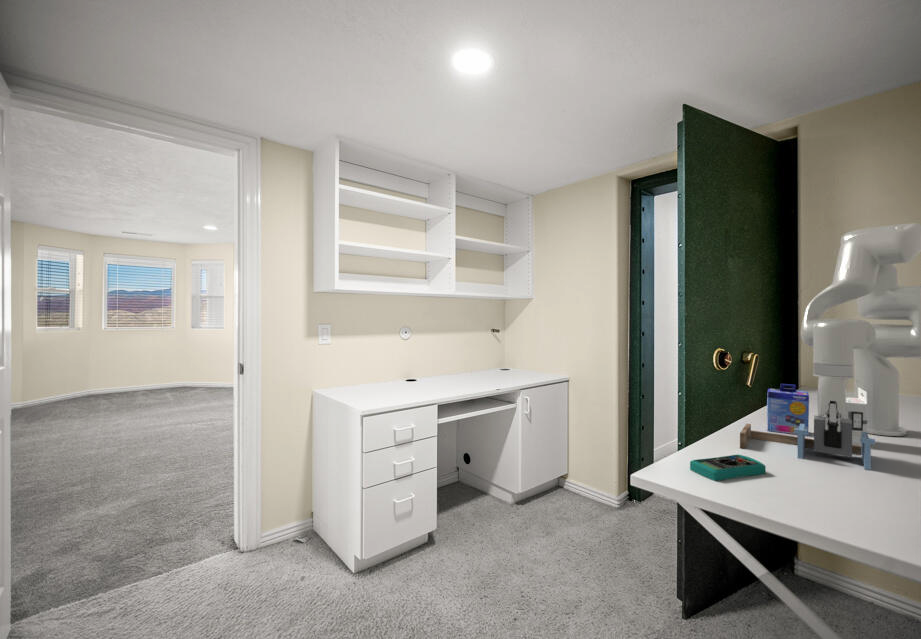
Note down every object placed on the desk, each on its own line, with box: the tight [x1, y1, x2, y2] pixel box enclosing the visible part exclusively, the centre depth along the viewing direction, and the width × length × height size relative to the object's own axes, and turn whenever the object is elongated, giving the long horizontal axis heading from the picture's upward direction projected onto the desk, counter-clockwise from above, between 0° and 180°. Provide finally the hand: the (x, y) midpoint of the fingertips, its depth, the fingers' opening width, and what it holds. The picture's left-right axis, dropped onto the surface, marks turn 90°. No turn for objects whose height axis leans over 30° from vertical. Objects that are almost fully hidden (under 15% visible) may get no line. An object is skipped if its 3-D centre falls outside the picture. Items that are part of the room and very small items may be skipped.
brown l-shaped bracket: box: [739, 423, 861, 456], centre depth 110 cm, size 13×25×4 cm, turn 49°
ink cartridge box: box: [766, 383, 810, 437], centre depth 127 cm, size 10×6×14 cm, turn 54°
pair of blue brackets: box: [794, 424, 876, 471], centre depth 105 cm, size 12×14×7 cm
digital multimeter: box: [689, 454, 767, 482], centre depth 97 cm, size 7×15×3 cm, turn 105°
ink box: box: [844, 387, 867, 446], centre depth 116 cm, size 8×5×15 cm, turn 149°
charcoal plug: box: [813, 415, 853, 458], centre depth 105 cm, size 4×7×8 cm, turn 49°
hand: (832, 443), depth 106 cm, fingers closed on charcoal plug, 4 cm apart
